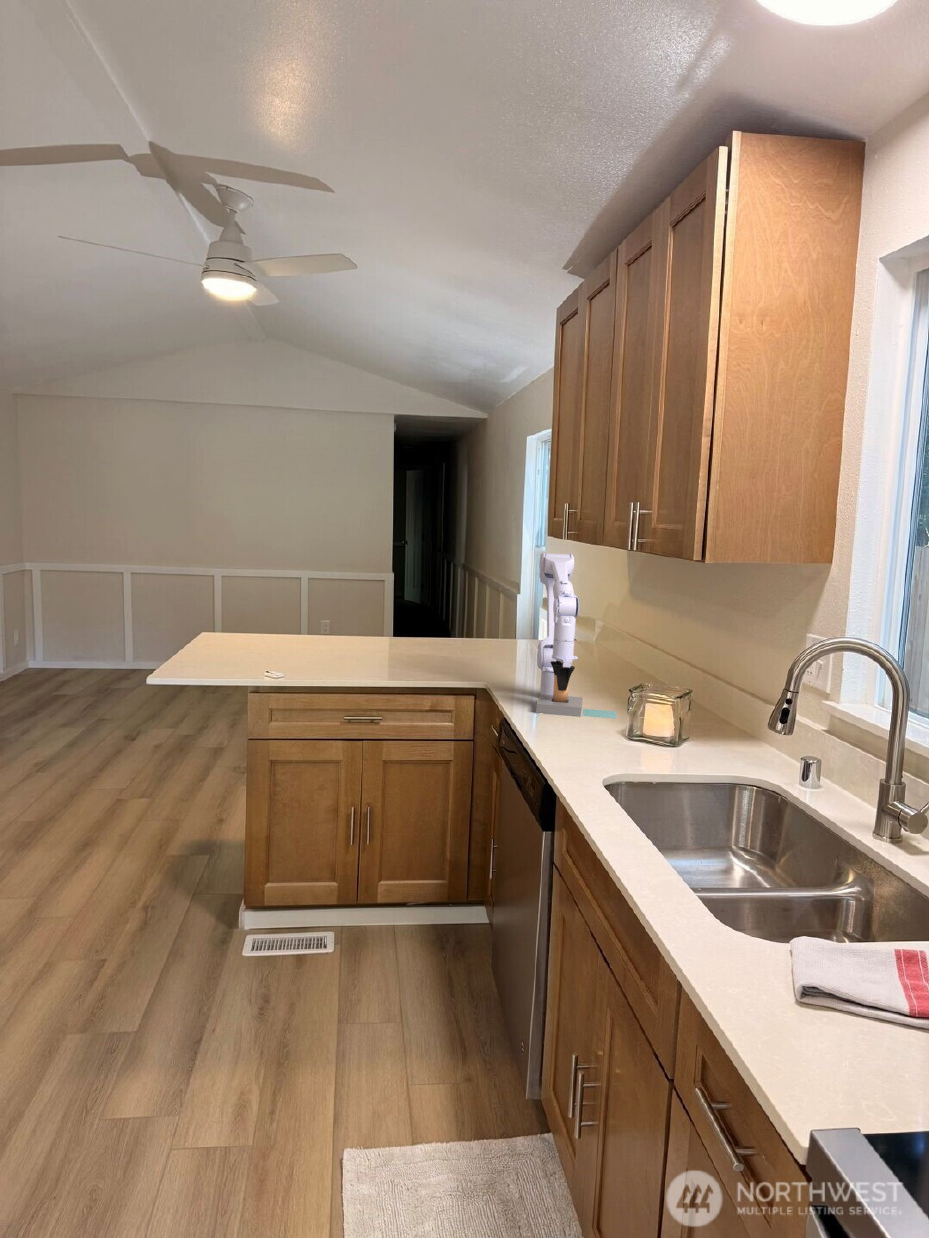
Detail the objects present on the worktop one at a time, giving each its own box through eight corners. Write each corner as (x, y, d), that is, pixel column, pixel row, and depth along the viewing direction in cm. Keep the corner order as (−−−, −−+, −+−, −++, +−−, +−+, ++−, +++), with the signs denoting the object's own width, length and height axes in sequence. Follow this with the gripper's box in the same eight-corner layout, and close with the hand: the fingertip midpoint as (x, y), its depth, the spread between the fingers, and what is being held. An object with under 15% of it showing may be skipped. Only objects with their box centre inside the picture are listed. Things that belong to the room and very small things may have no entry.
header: (539, 704, 244) (540, 693, 243) (581, 707, 242) (582, 697, 241) (535, 714, 230) (536, 703, 230) (580, 718, 228) (581, 707, 228)
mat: (583, 710, 238) (583, 708, 238) (615, 713, 237) (616, 711, 237) (582, 717, 229) (582, 715, 229) (616, 720, 228) (616, 718, 228)
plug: (551, 698, 237) (553, 674, 237) (566, 699, 238) (567, 674, 237) (554, 702, 233) (555, 677, 233) (568, 702, 234) (570, 677, 233)
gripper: (583, 644, 227) (579, 694, 228) (573, 637, 241) (570, 684, 242) (556, 643, 226) (553, 693, 228) (549, 635, 241) (546, 683, 242)
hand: (560, 688), depth 235 cm, fingers closed on plug, 4 cm apart
